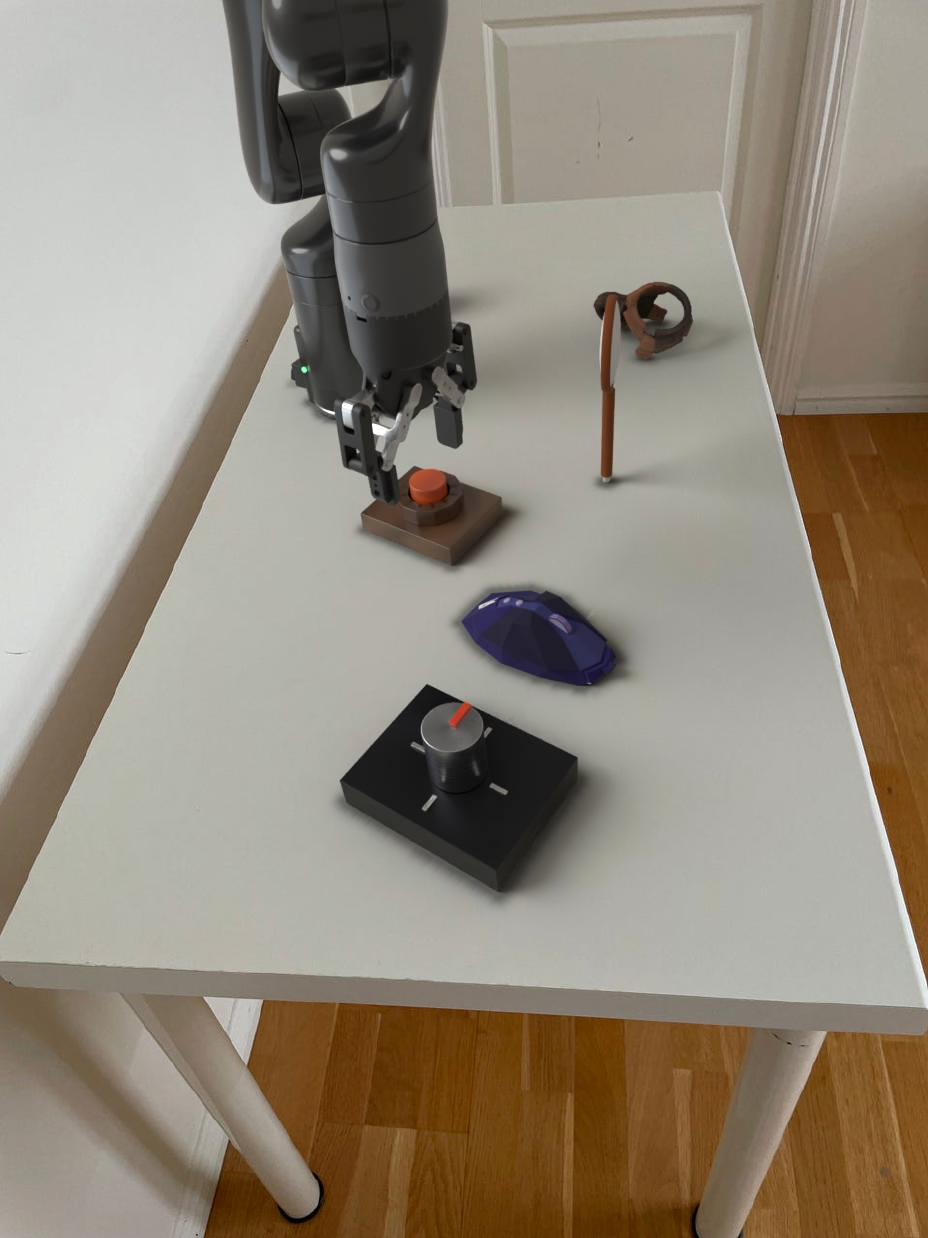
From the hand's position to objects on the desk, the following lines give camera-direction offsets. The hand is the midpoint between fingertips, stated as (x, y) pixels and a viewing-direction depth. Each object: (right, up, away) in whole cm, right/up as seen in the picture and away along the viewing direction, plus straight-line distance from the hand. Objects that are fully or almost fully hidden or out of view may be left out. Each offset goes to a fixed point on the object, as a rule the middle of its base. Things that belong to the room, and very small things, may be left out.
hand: (420, 471), depth 77 cm
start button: (0, 0, +15) cm, 15 cm away
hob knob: (+3, -23, -8) cm, 25 cm away
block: (+1, -2, +18) cm, 18 cm away
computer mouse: (+11, -14, +5) cm, 18 cm away
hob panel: (+3, -25, -5) cm, 26 cm away
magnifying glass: (+18, +2, +20) cm, 27 cm away
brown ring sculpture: (+26, +22, +39) cm, 52 cm away
